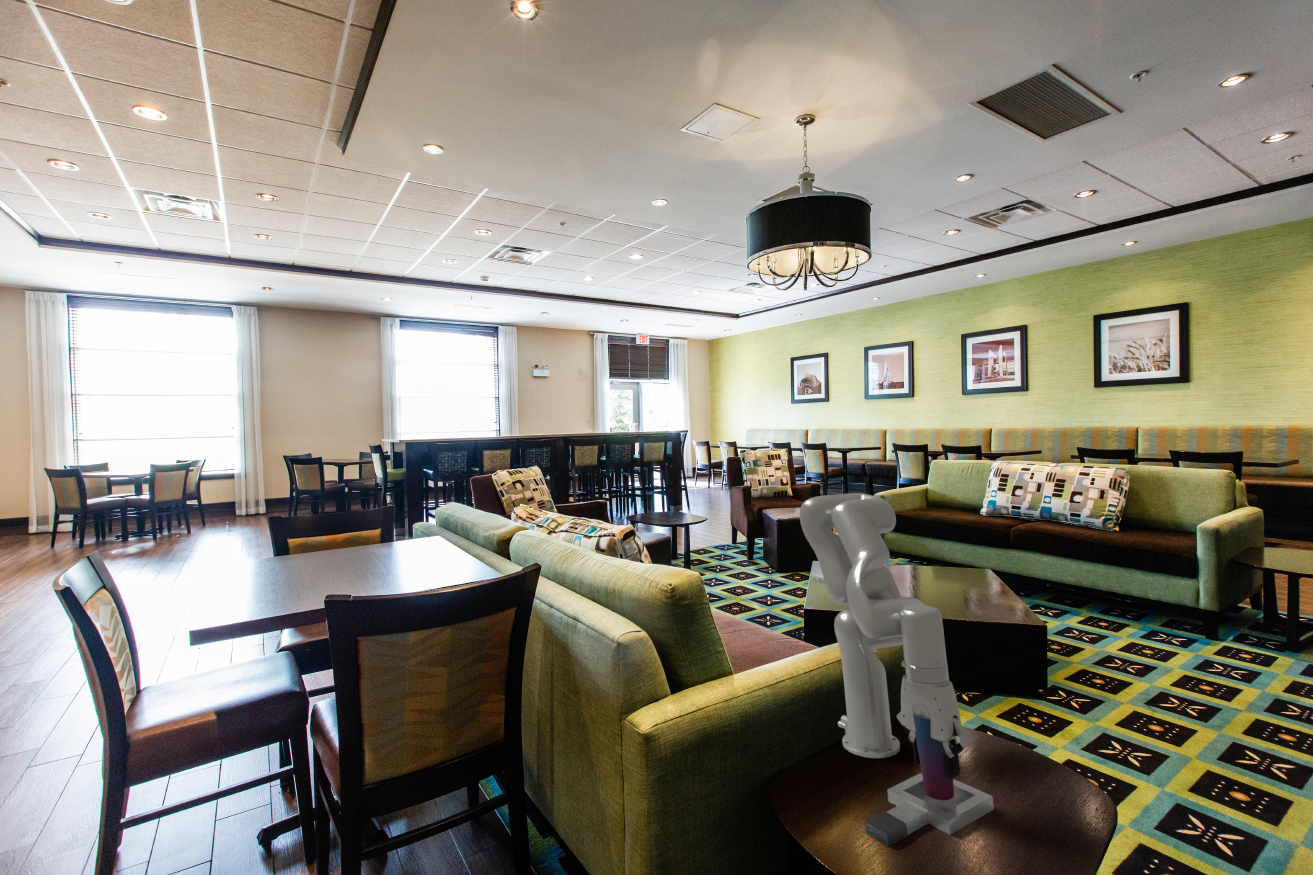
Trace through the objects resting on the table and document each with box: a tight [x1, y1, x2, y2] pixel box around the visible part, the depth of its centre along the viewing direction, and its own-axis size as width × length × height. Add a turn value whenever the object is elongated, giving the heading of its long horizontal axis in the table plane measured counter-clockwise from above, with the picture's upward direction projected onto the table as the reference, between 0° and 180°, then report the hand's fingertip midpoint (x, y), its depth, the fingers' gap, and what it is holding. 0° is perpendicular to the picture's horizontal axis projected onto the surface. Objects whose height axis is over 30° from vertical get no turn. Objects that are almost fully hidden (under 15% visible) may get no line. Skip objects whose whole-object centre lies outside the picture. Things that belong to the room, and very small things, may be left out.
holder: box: [864, 772, 995, 847], centre depth 110 cm, size 24×13×2 cm, turn 120°
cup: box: [913, 713, 954, 800], centre depth 113 cm, size 7×7×15 cm
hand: (936, 767), depth 113 cm, fingers closed on cup, 6 cm apart
